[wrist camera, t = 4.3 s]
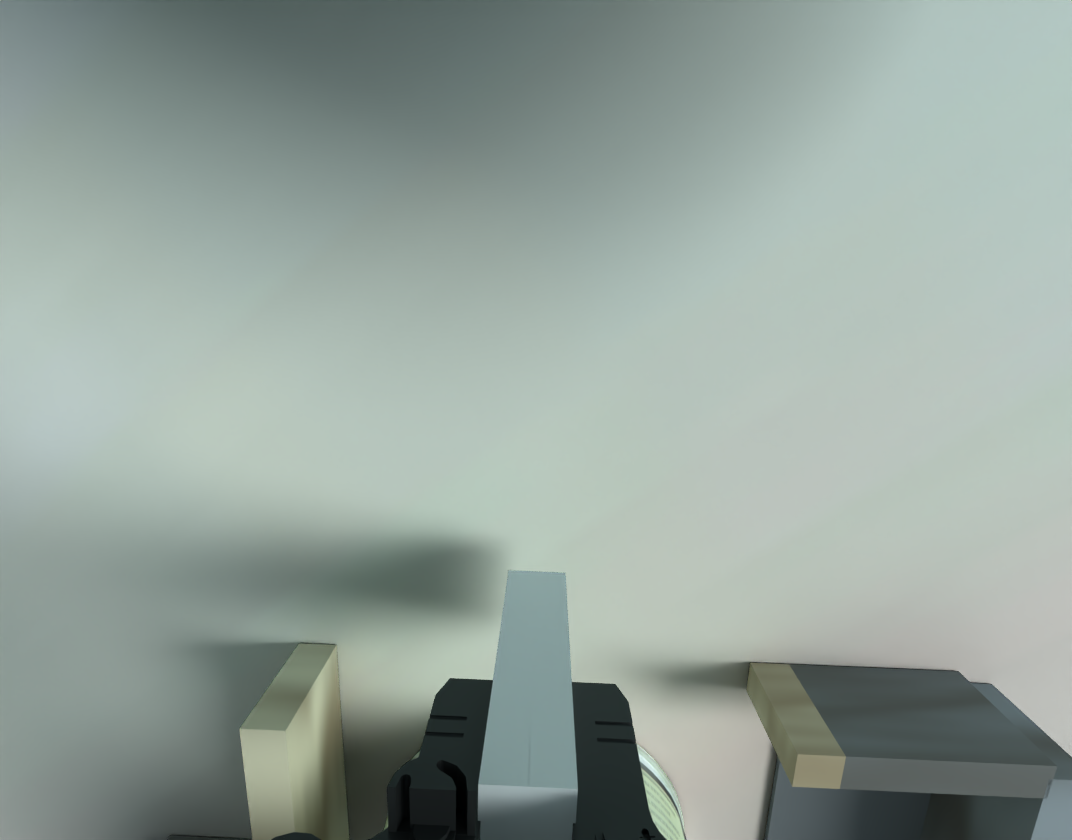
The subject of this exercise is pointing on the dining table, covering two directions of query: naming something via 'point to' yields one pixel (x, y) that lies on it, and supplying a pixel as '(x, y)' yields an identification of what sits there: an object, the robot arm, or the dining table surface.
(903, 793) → the mats
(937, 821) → the channel
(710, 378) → the dining table surface
